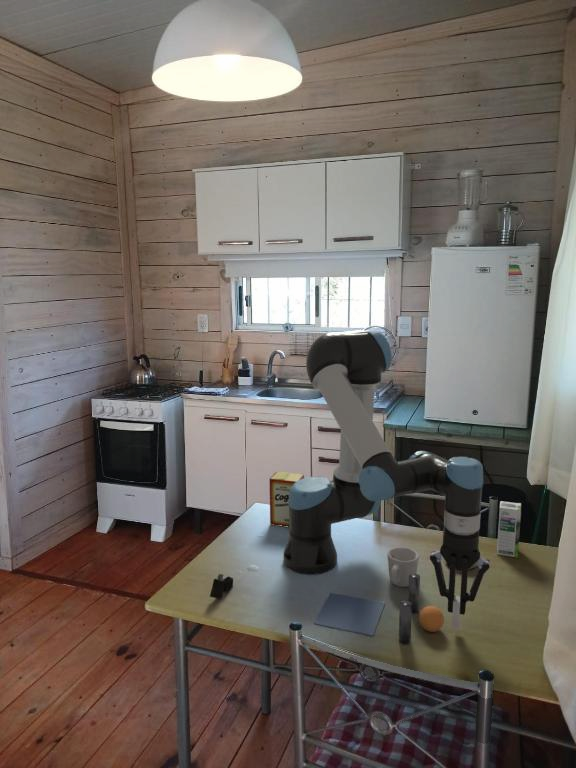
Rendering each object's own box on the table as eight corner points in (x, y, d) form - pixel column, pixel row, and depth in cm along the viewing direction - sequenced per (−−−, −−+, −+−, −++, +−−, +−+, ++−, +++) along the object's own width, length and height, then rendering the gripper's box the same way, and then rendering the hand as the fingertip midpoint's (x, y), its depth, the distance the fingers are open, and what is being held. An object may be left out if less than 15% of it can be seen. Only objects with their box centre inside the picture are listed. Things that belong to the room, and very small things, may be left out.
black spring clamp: (222, 598, 156) (227, 575, 158) (230, 600, 155) (235, 577, 157) (207, 595, 148) (212, 572, 150) (214, 597, 147) (220, 574, 149)
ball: (437, 611, 133) (446, 634, 134) (439, 599, 138) (448, 620, 139) (414, 616, 135) (423, 638, 136) (417, 604, 140) (426, 625, 141)
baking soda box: (304, 520, 196) (304, 473, 193) (298, 528, 190) (298, 480, 187) (276, 516, 199) (276, 470, 196) (270, 524, 193) (269, 477, 190)
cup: (407, 598, 150) (408, 569, 149) (377, 589, 154) (378, 561, 153) (422, 579, 159) (423, 551, 158) (393, 571, 163) (394, 544, 162)
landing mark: (313, 623, 140) (313, 623, 140) (330, 593, 153) (330, 592, 153) (372, 636, 135) (372, 635, 135) (385, 603, 148) (385, 602, 148)
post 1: (397, 642, 133) (398, 606, 131) (399, 636, 135) (400, 599, 133) (409, 645, 132) (410, 608, 130) (411, 638, 134) (412, 602, 133)
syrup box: (496, 555, 172) (499, 507, 169) (497, 545, 177) (500, 499, 174) (517, 558, 170) (521, 510, 167) (517, 549, 175) (521, 502, 172)
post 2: (407, 612, 144) (408, 577, 143) (408, 606, 147) (409, 572, 145) (417, 614, 144) (419, 579, 142) (419, 608, 146) (420, 574, 144)
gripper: (428, 531, 130) (424, 628, 135) (492, 540, 125) (485, 640, 130) (432, 517, 137) (428, 610, 141) (493, 525, 132) (486, 621, 137)
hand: (455, 625), depth 136 cm, fingers closed
